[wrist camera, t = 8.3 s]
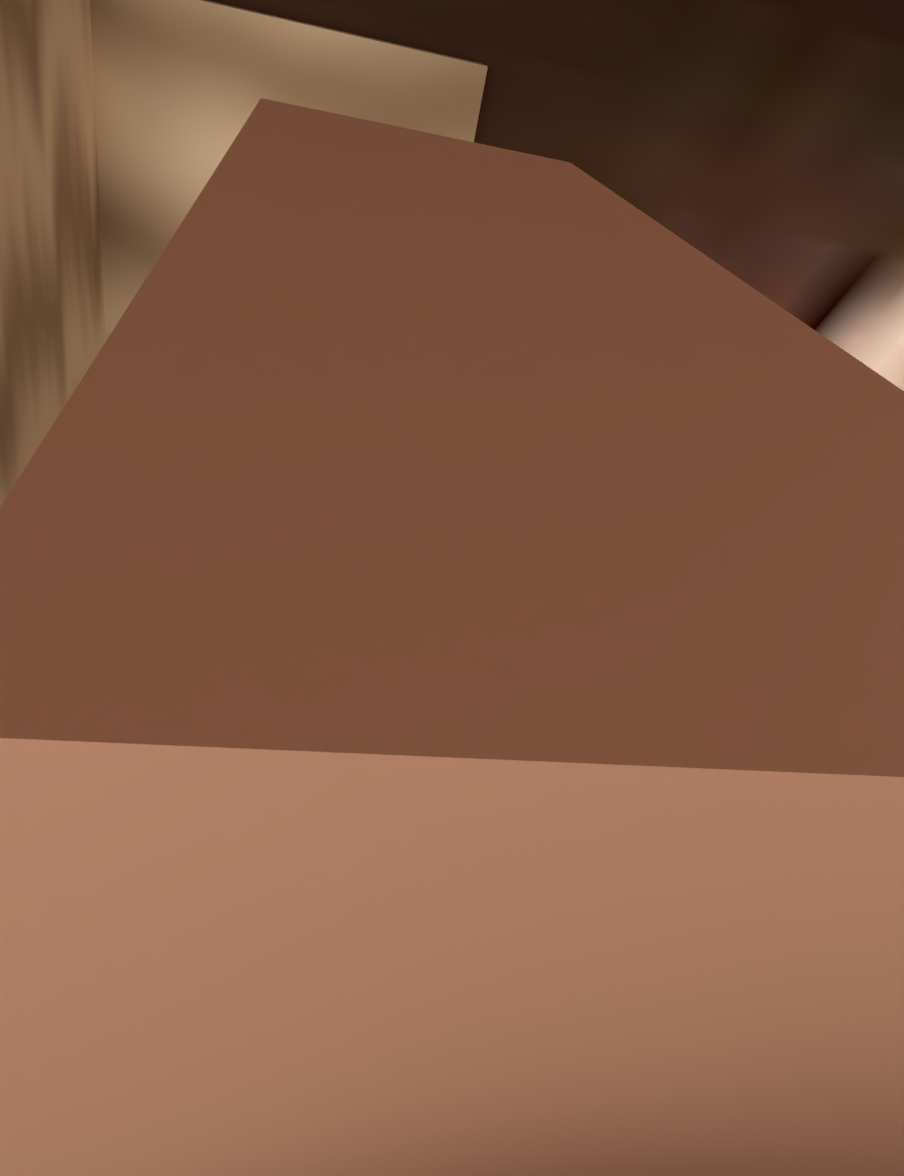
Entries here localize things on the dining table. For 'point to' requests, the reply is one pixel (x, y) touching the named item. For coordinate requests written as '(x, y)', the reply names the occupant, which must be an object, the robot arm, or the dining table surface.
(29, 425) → the plywood shelf
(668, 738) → the terracotta book
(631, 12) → the dining table surface
